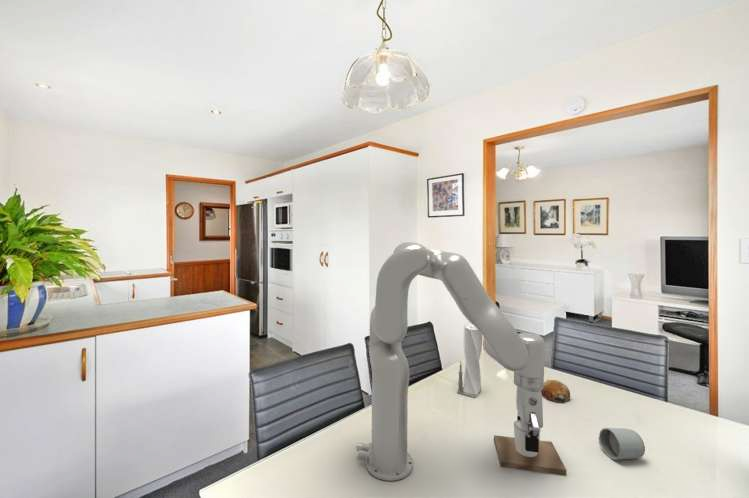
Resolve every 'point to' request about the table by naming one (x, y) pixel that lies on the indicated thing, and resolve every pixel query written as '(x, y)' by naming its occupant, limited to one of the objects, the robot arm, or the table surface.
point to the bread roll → (555, 391)
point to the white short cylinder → (522, 438)
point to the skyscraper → (471, 362)
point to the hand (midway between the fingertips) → (527, 440)
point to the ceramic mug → (621, 443)
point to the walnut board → (541, 462)
